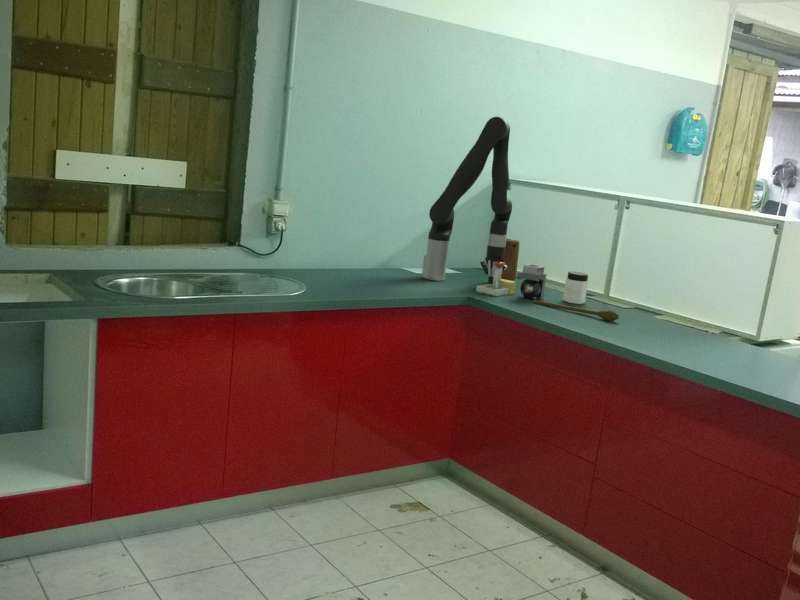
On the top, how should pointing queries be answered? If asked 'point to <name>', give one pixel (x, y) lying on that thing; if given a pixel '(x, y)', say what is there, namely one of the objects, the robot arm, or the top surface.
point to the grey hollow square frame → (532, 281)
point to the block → (511, 259)
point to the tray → (492, 290)
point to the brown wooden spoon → (583, 310)
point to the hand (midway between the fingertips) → (491, 285)
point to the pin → (497, 274)
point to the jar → (575, 287)
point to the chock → (508, 285)
